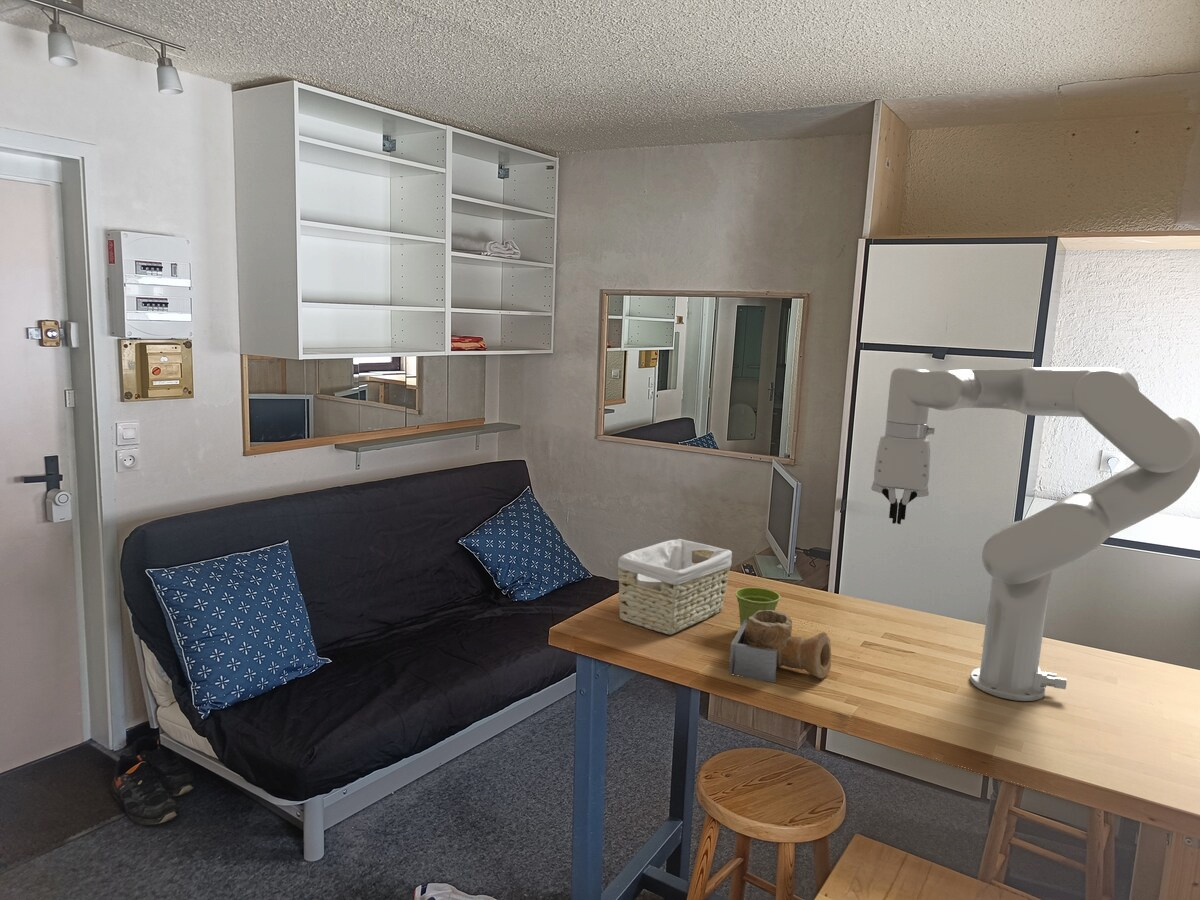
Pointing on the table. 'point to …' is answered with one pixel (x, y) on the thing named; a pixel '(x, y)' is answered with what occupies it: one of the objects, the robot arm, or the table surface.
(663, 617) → the storage basket
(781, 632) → the pipe
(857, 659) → the table surface
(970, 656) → the table surface
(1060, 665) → the table surface
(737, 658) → the gray channel bracket
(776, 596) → the plant pot
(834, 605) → the table surface
